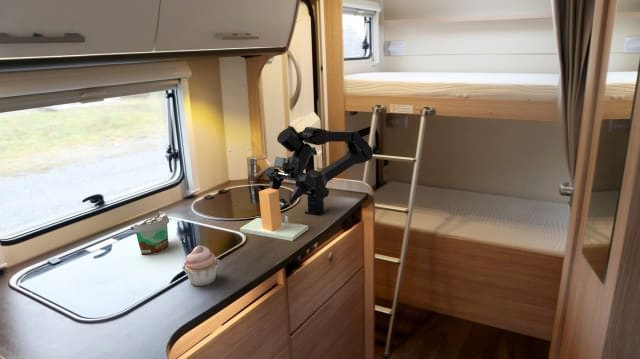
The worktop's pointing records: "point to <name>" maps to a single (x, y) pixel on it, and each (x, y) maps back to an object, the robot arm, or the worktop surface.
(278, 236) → the board
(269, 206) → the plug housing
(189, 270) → the cupcake
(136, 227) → the food container
